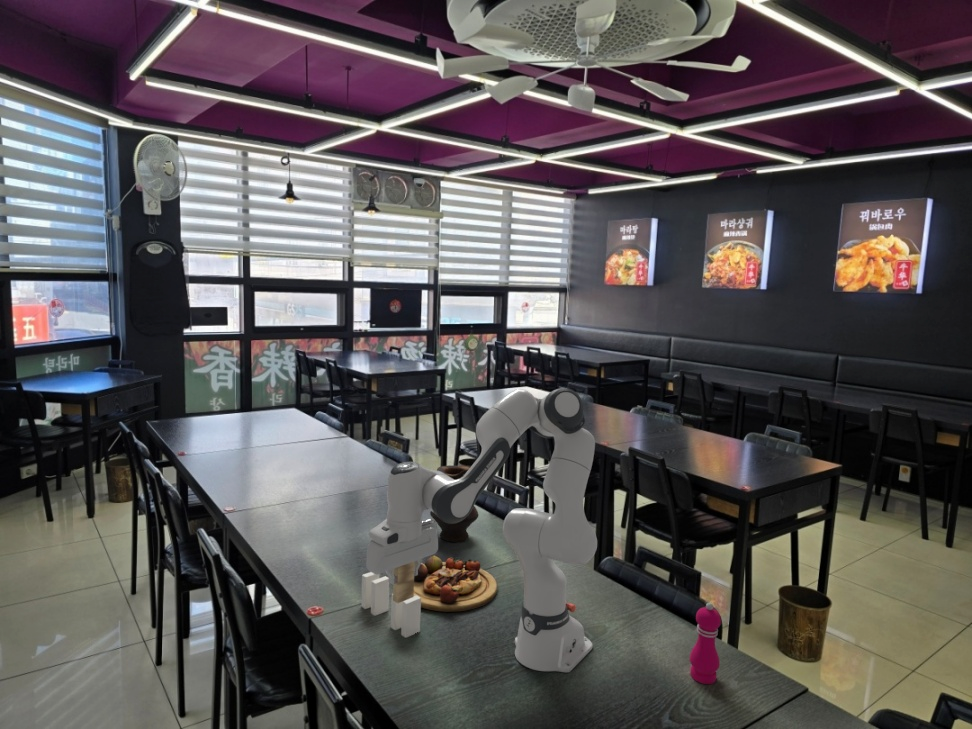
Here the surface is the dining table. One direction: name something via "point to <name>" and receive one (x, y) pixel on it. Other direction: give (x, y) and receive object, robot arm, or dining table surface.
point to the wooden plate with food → (453, 585)
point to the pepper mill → (705, 646)
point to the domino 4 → (404, 583)
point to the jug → (458, 530)
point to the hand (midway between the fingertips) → (403, 579)
